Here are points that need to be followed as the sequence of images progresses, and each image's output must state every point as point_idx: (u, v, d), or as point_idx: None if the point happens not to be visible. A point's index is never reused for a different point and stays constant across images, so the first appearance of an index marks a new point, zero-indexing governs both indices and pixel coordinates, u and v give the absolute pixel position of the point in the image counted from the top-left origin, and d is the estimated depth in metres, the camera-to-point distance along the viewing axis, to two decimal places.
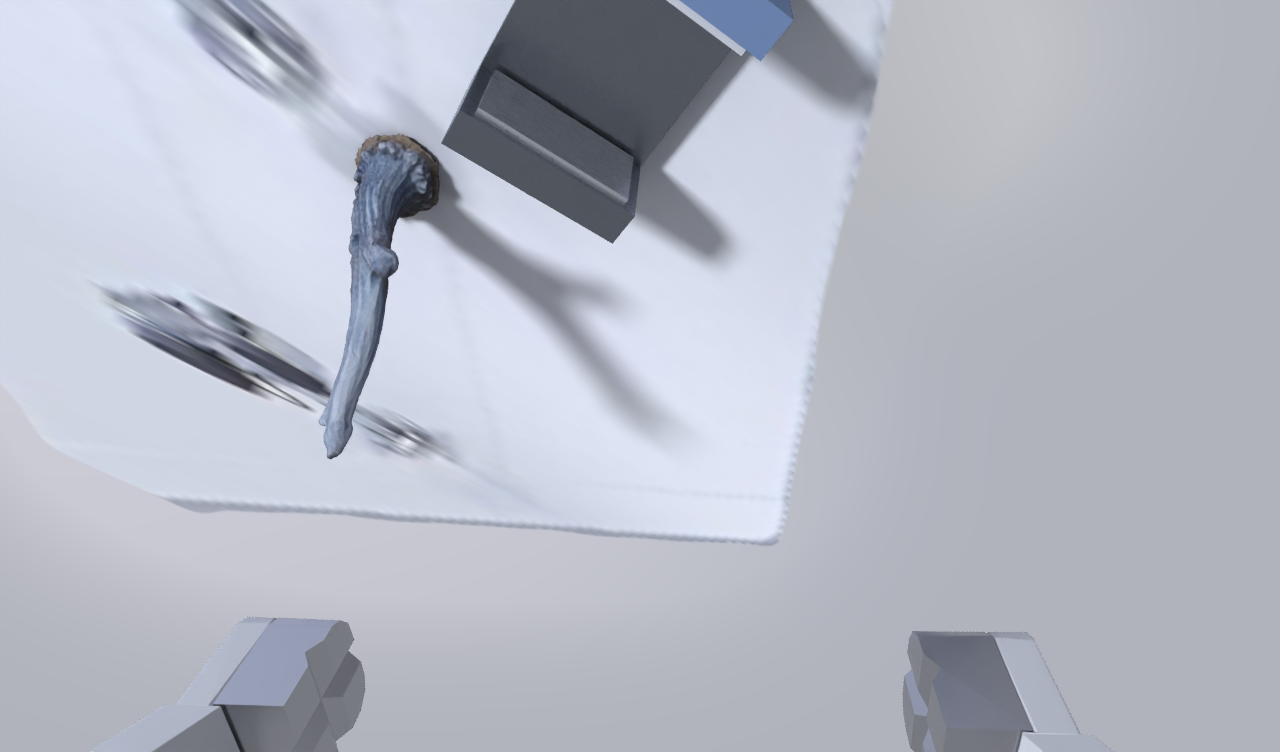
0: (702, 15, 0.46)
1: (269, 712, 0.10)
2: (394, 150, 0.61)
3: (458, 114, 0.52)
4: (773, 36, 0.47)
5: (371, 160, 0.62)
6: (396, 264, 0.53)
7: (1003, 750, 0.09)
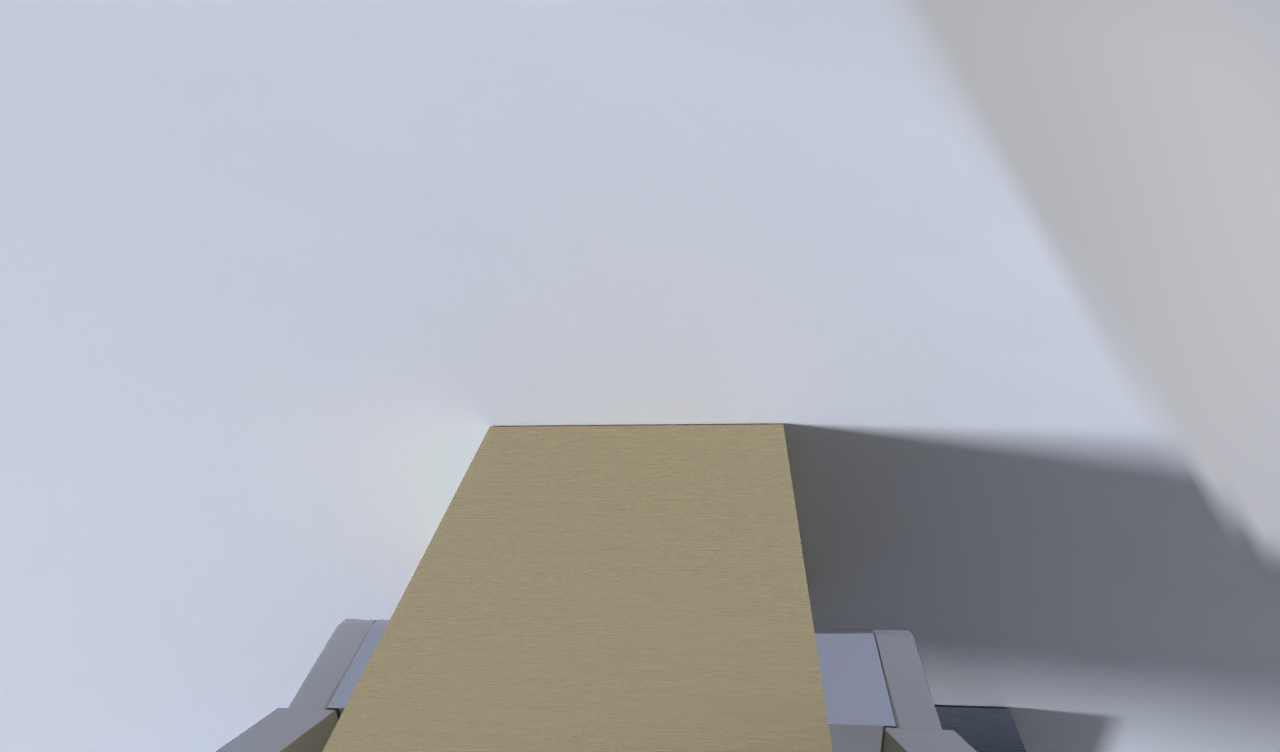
0: None
1: None
2: None
3: None
4: None
5: None
6: None
7: (870, 745, 0.09)
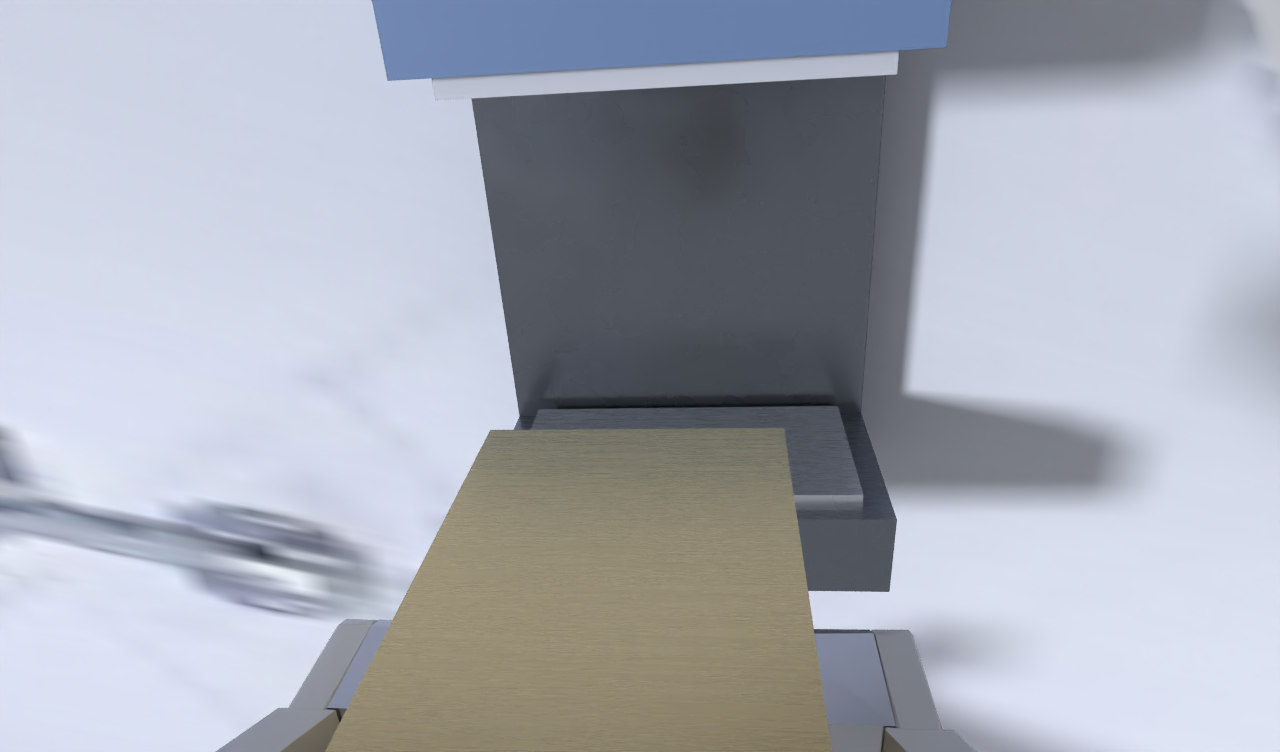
0: (754, 54, 0.19)
1: None
2: None
3: None
4: None
5: None
6: None
7: (870, 745, 0.09)
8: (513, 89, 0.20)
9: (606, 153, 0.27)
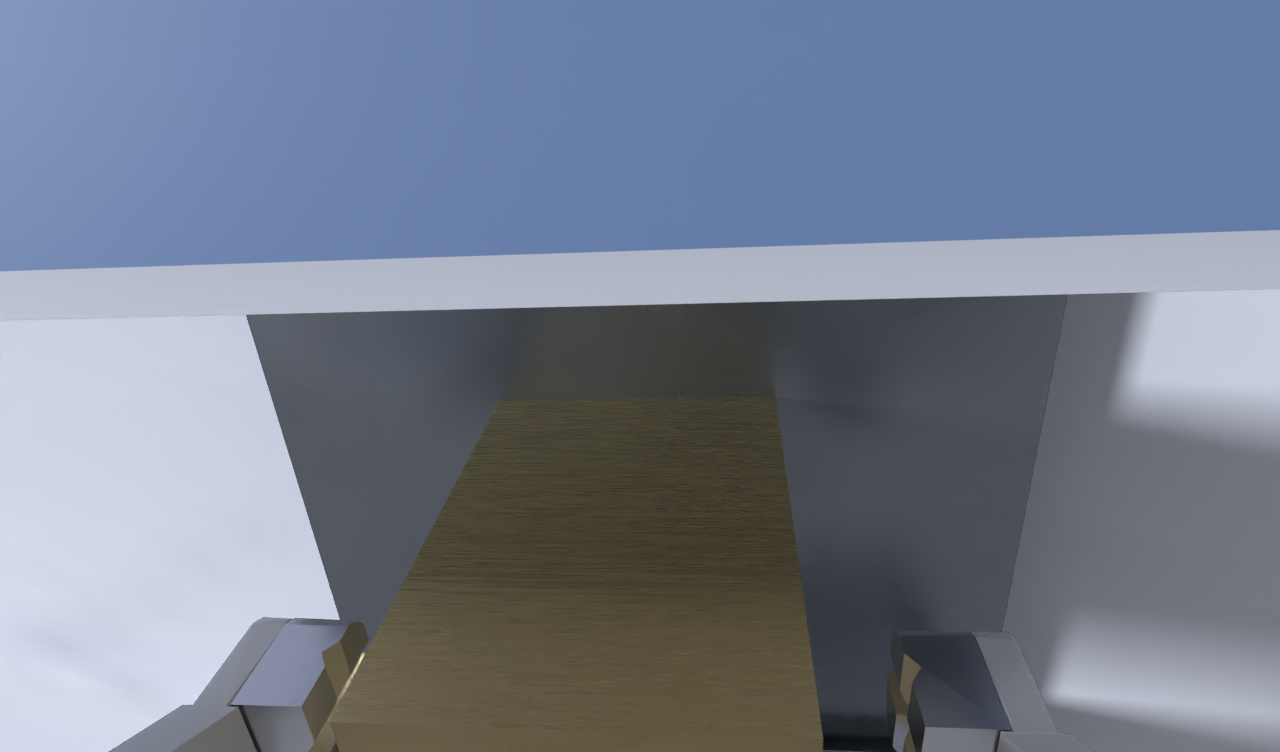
0: (857, 229, 0.05)
1: (286, 713, 0.10)
2: None
3: None
4: None
5: None
6: None
7: (982, 749, 0.09)
8: (89, 300, 0.07)
9: (495, 322, 0.14)
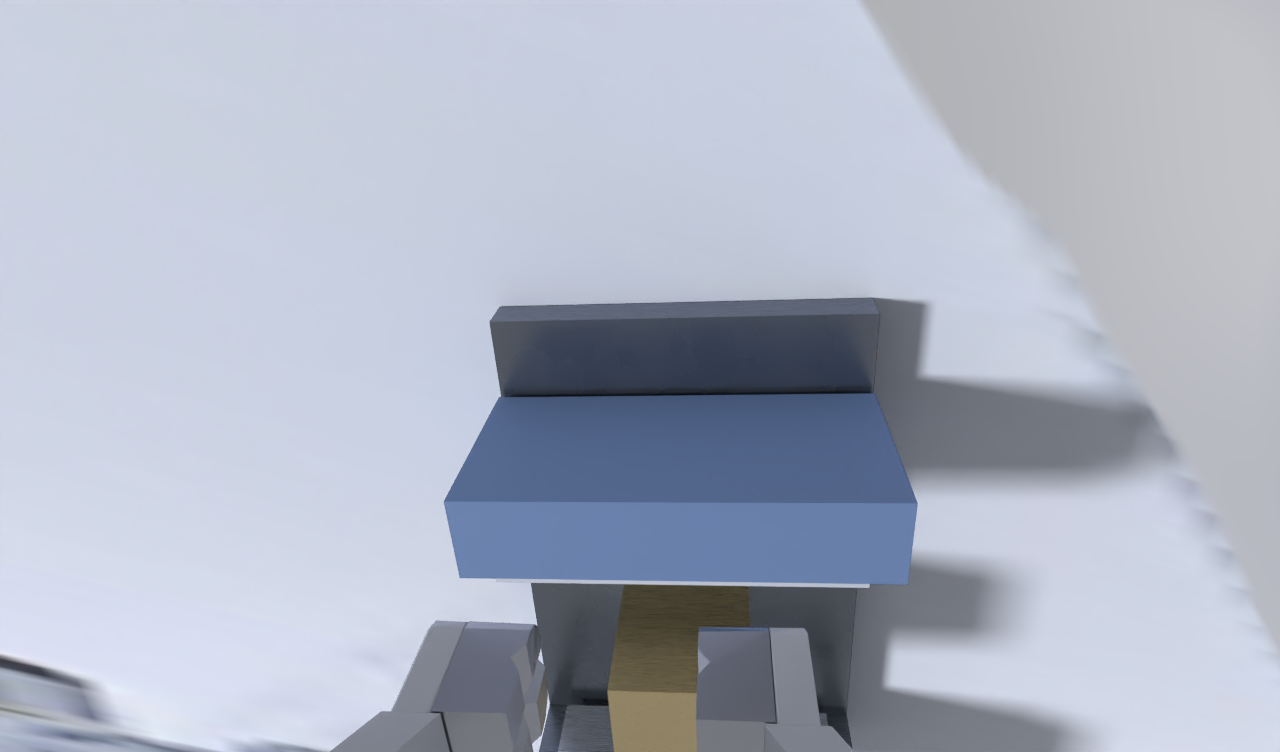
0: (755, 580, 0.24)
1: (489, 719, 0.09)
2: None
3: None
4: (899, 542, 0.23)
5: None
6: None
7: (753, 741, 0.09)
8: (560, 579, 0.25)
9: None
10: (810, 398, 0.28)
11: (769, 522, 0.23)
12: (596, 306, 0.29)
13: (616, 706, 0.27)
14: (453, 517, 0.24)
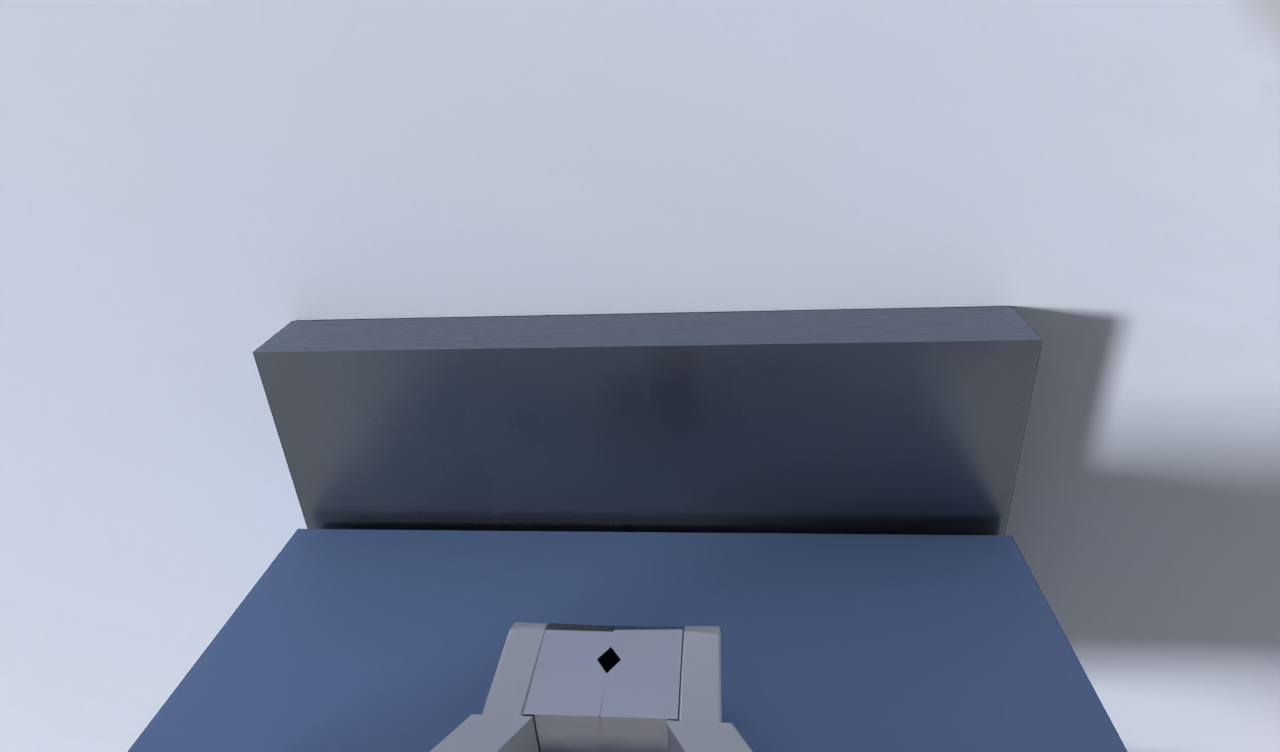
0: None
1: (582, 723, 0.09)
2: None
3: None
4: None
5: None
6: None
7: (657, 738, 0.09)
8: None
9: None
10: (886, 546, 0.14)
11: None
12: (470, 321, 0.15)
13: None
14: None
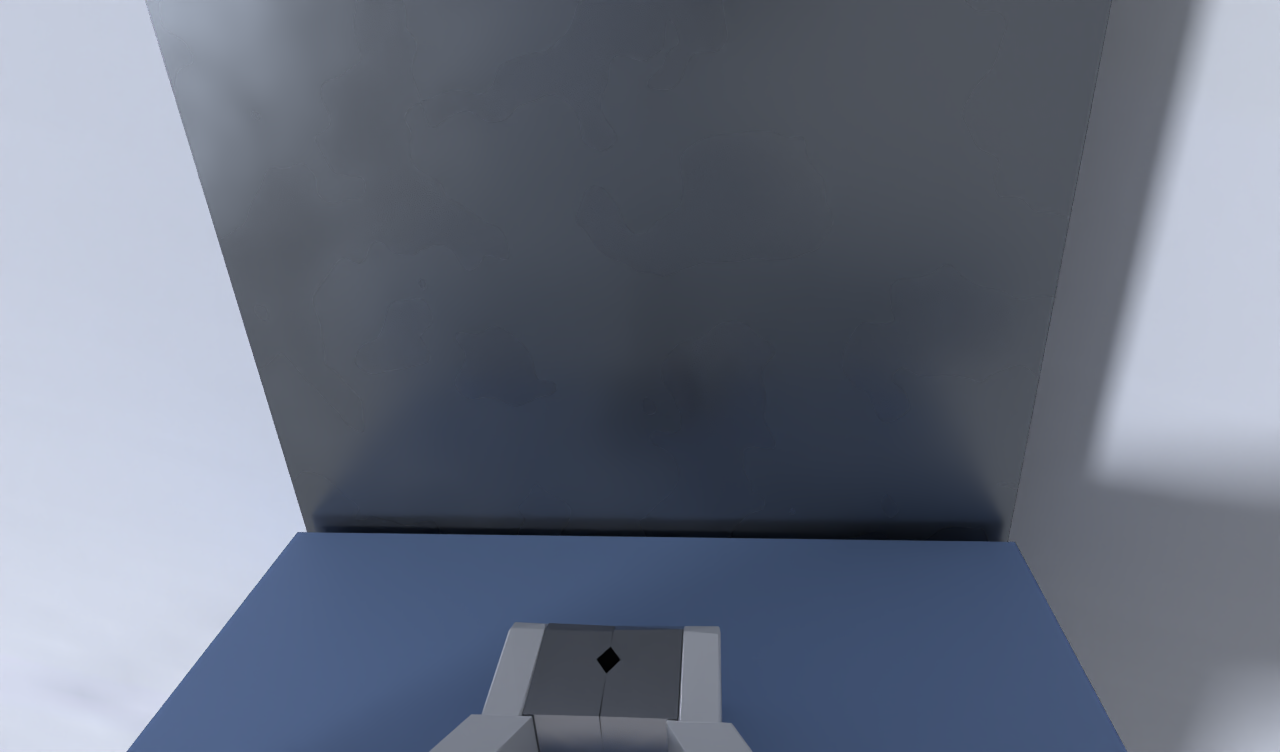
0: None
1: (581, 723, 0.09)
2: None
3: None
4: None
5: None
6: None
7: (657, 738, 0.09)
8: None
9: (503, 421, 0.15)
10: (888, 552, 0.14)
11: None
12: None
13: None
14: None
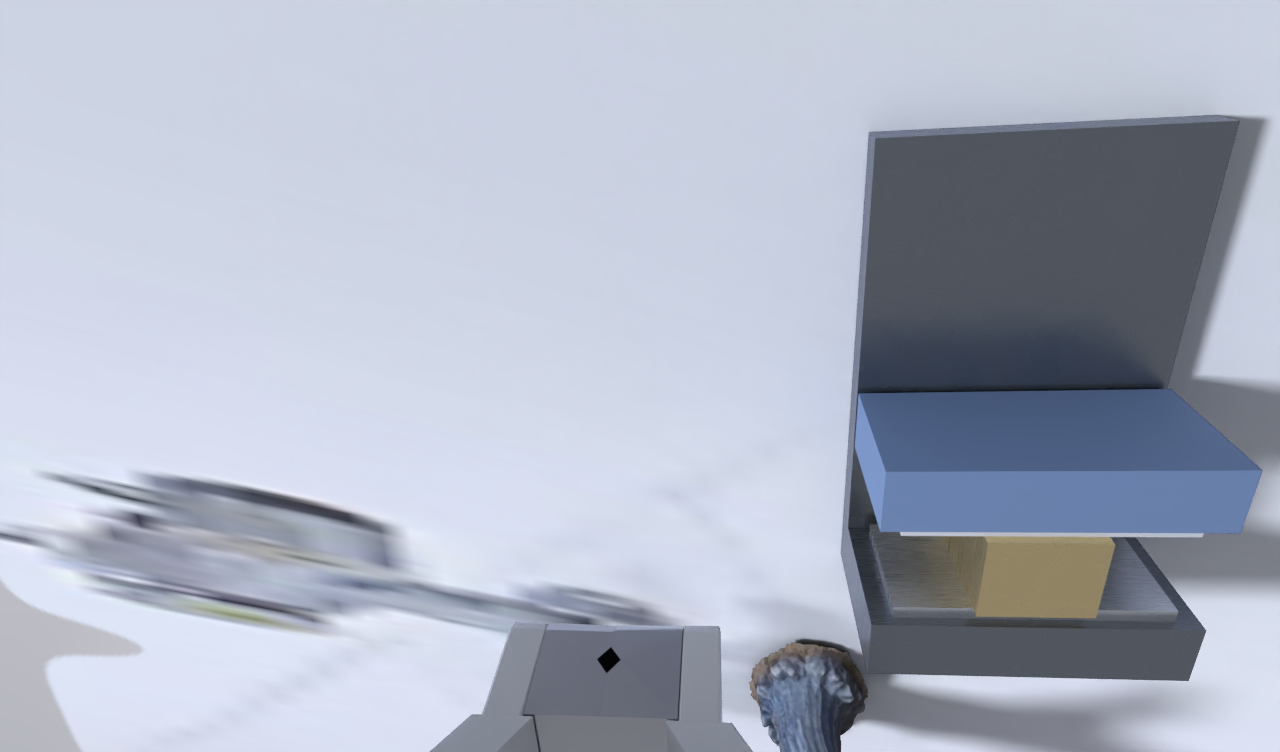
0: (1119, 531, 0.31)
1: (581, 722, 0.09)
2: (793, 670, 0.45)
3: (872, 630, 0.35)
4: (1242, 500, 0.30)
5: (772, 694, 0.46)
6: None
7: (657, 738, 0.09)
8: (954, 533, 0.33)
9: (962, 342, 0.36)
10: (1120, 393, 0.35)
11: (1142, 486, 0.30)
12: (962, 128, 0.33)
13: (991, 558, 0.33)
14: (889, 484, 0.31)
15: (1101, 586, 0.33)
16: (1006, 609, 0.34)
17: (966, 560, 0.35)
